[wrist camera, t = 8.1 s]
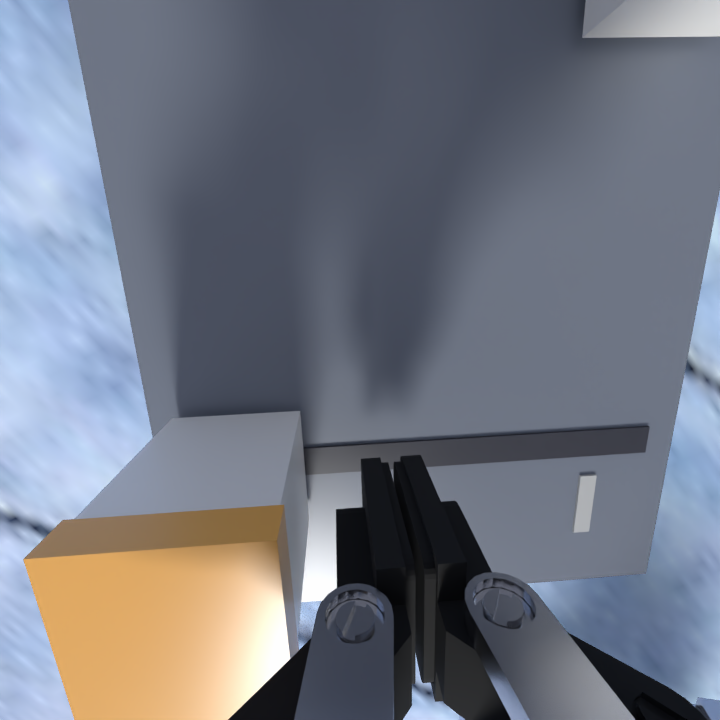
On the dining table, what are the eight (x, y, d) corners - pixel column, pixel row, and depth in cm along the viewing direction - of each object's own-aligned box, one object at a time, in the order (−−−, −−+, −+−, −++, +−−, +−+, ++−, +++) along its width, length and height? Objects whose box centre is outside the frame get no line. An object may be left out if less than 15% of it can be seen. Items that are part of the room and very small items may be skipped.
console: (739, -266, 11) (833, -384, 9) (612, 538, 18) (647, 575, 16) (54, -287, 10) (-17, -424, 8) (203, 570, 17) (185, 613, 15)
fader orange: (303, 407, 13) (277, 540, 7) (312, 520, 14) (296, 716, 8) (168, 415, 12) (23, 559, 7) (188, 529, 14) (79, 737, 8)
